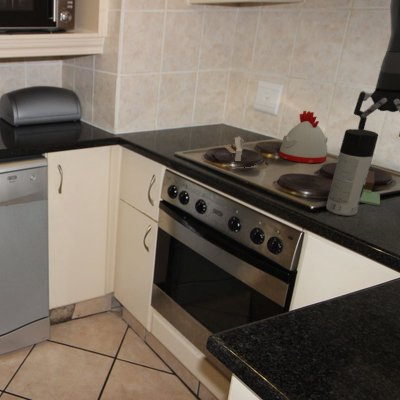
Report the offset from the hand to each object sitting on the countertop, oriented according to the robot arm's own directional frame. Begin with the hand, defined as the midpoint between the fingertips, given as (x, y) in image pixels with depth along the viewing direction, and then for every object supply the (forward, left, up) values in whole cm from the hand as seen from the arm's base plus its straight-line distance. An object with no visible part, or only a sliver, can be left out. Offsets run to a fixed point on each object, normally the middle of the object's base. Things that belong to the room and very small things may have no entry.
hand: (380, 134), depth 125 cm
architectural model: (+32, -19, -16) cm, 40 cm away
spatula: (0, +2, -16) cm, 16 cm away
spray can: (+12, +18, -16) cm, 27 cm away
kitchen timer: (+9, -28, -16) cm, 33 cm away
